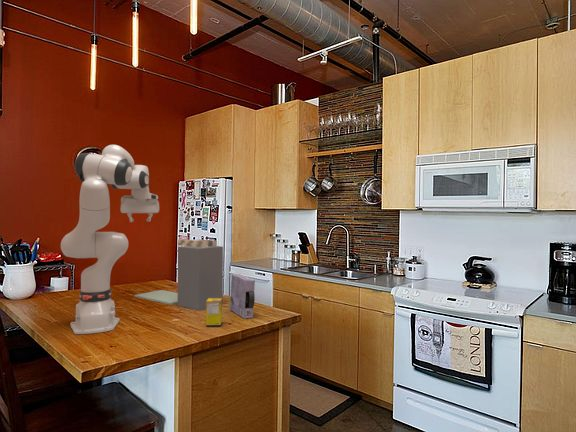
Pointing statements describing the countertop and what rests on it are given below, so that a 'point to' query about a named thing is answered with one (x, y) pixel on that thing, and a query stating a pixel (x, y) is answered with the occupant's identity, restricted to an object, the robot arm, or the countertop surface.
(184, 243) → the long maple bar
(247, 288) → the cake pan box
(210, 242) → the pale wood bar
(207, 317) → the supplement box
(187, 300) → the charcoal stand
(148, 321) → the countertop surface
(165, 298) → the sage mat
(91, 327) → the robot arm
